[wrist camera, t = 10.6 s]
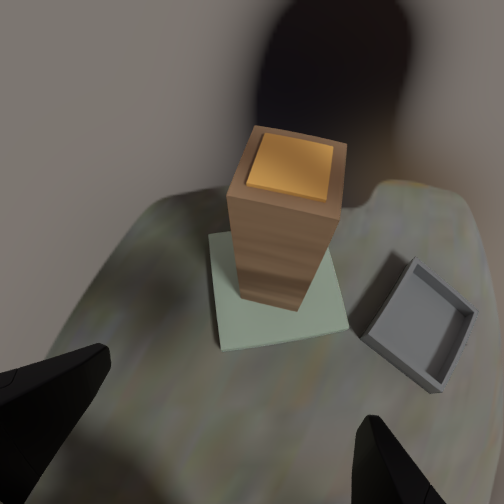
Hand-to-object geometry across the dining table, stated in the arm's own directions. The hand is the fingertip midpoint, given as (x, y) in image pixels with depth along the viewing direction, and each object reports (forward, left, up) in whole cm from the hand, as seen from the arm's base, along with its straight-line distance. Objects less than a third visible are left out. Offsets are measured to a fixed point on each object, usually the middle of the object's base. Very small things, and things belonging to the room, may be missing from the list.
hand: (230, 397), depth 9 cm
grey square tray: (+15, -7, -14) cm, 21 cm away
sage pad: (+8, +5, -14) cm, 16 cm away
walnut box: (+8, +5, -13) cm, 16 cm away
